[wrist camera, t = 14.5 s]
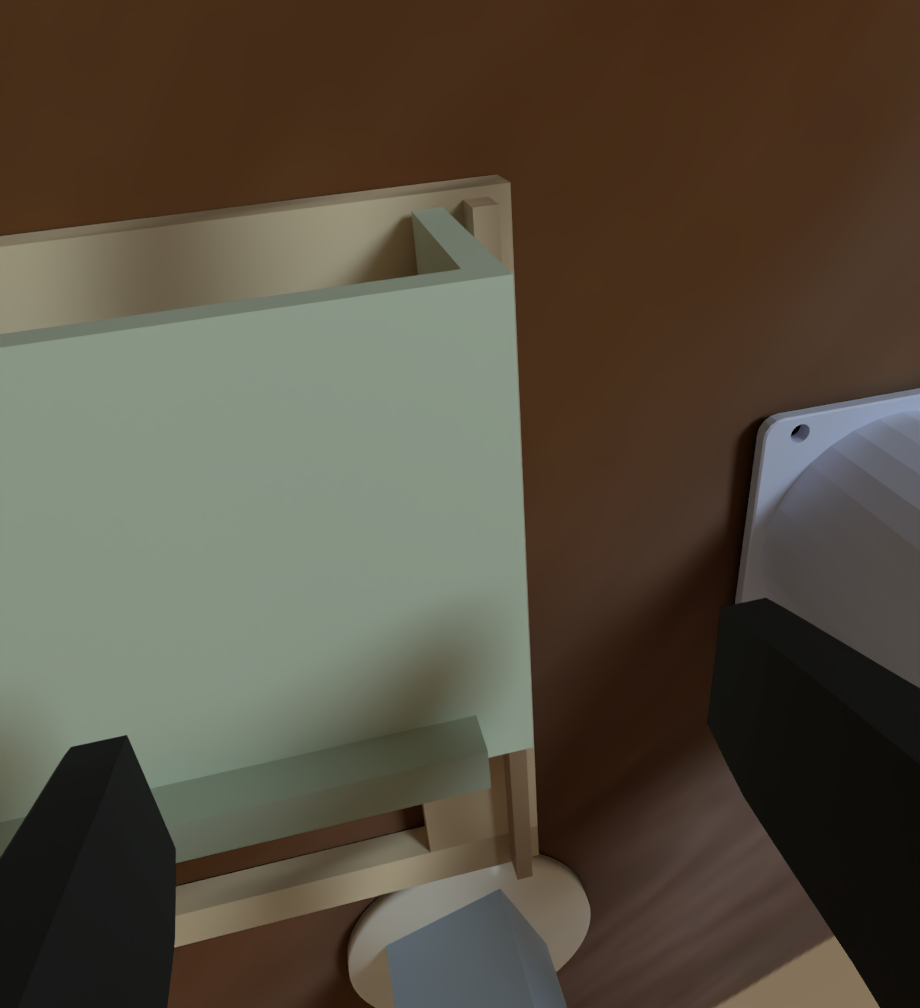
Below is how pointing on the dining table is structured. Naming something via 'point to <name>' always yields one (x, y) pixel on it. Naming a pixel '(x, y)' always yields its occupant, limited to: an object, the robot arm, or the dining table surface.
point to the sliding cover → (270, 549)
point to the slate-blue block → (475, 961)
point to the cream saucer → (540, 899)
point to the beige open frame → (260, 273)
